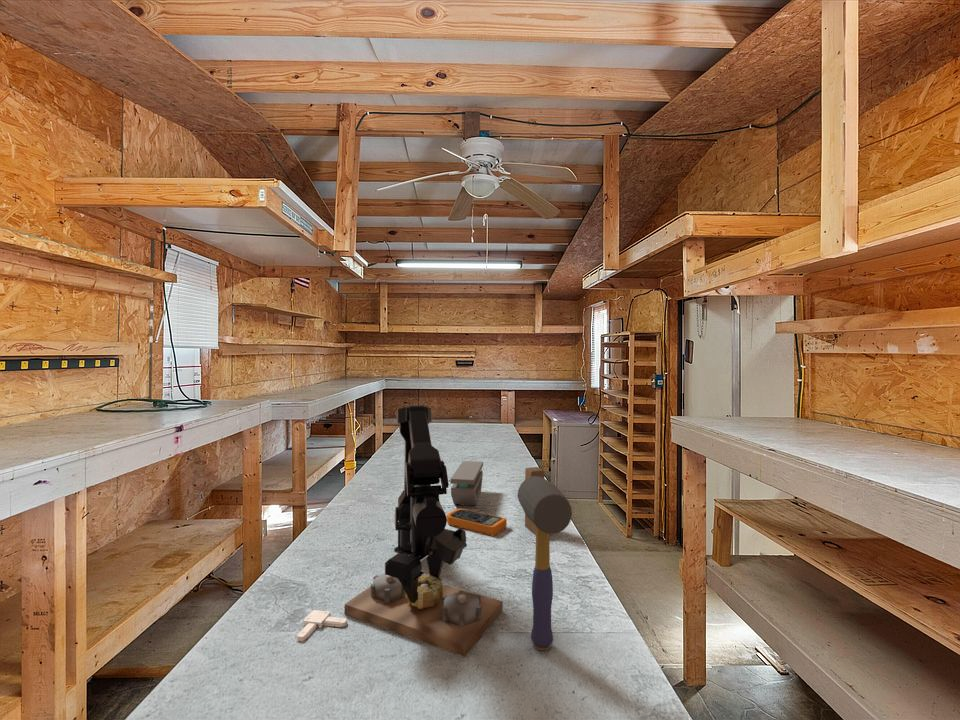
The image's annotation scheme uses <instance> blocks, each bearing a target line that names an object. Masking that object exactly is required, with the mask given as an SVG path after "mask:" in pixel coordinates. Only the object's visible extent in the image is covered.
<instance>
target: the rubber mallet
mask: <svg viewBox="0 0 960 720" xmlns="http://www.w3.org/2000/svg"><path fill="white" fill-rule="evenodd" d="M517 498H518V502H519V504H520V506H521V509H522V510H523V512H524V515H525V514H526V516H527V517H528V518H529V519H530V520H531V521H532V522H533V523H534V524H535V525H536V535H535V555H534V557H535V558H534V559H535V566H534V569H533V573H532V582H531V599H532V608H533V609H532V610H533V611H532V613H533V614H532V629H531V633H530V639H531V641H532V644H533V647H534V649H537V650H539V651H547V650H549V649H550V647H551V645H552V643H553V641H554V633H553V630H552V629H553V628H552V605H553V597H554V586H553V585H554V584H553V583H554V582H553V573H552V569H551V566H550V556H551V555H550V551H551V549H550V546H551V545H550V543H551V542H550V538H551V537H550V536H551V535H555V534H559V533H561V532H562V531H564V530H566V528H567V527H568V526H569V524H570V523H571V520H572V516H573V512H572V511H573V510H572V506H571V504H570V502H569V500H568V498H567V497H566V496H565V495H564V494H563V492H561V490H560V489H559V488H558V487H556V485H554V483H552V482H550V481H549V480H548V479H546V478H545V477H544V478H542V477H538V476H533V477H529V478H527V479H526V480H525V479H524V480H523V481H522V482H521V484H520V485H519V487H518V490H517ZM550 534H551V535H550Z"/></svg>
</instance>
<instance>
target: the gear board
mask: <svg viewBox="0 0 960 720" xmlns="http://www.w3.org/2000/svg"><path fill="white" fill-rule="evenodd" d="M420 587H422V588H424V587H428V584H422V585H421V586H420ZM503 602H504V601H503V600H499V599H496V598H492V597H489V596H485V595H483V594H478V593H474V592H471V591H467V590H464V589H460V588H458V587H453V586H450V585H446V584H444V597H443V600H441V601H440V602H438V603H437V606H435V607H433V606H431V607H425V608H423V609H418V607H416V606H412V605H410V606H409V605H408V604H407V598H406V592H405V590H404V588H403V586H402V584H401V583H400V581H399V579H398V578H395V577H392V576H389V575H385V573H381V574H378V575H373V581H372V583H371V584H370V586H368V587H367V588H366V589H365V590H363V591H362V592H360V593H359V594H357V595H356V596H354V597H353V598H351V599H350V600H349V601H347V602H346V603H344V615H347V616H349V617H352V618H354V619H358V620H360V619H361V620H360V621H363V622H366V623H370V624H371V623H372V624H371V625H374V624H375V626H378V627H380V628H383V629H385V628H386V630H388V629H389V631H391V632H394V633H397V634H399V635H403V636H405V637H408V638H410V637H411V639H414V640H416V641H419V642H421V643H425V644H428V645H430V646H433V647H436V648H439V649H442V650H443V651H447V652H449V653H453V654H455V655H458V656H460V657H463V658H465V657H467V655H468V654H469V653H470V651H471V650H472V649H473V648H474V647H475V645H476V644H477V643H478V641H479V640H480V639H481V638H482V637H483V635H484V634H485V633H486V632H487V631H488V629H490V627H491V626H492V624H493V623H494V622H495V621H496V620H497V618H498V617H499V616H500V615H501V613H502V612H503V611H504V610H503V609H504V608H503Z"/></svg>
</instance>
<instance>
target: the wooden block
mask: <svg viewBox="0 0 960 720" xmlns="http://www.w3.org/2000/svg"><path fill="white" fill-rule="evenodd" d="M524 471H525V473H524V474H525V479H524V480H526V479H527V478H529V477H533V476H538V477H542V478H544V479H545V469H542V468H541V467H538V466H535V467H525V470H524ZM524 527H525V528H526V529H528V531H530V532H531V533H532V534H534V536H536V525H535V524H534V523H533V522H532V521H531V520H530V519H529V518H528V517H527V516H526V514H525V513H524ZM551 535H552V534H550V536H551Z"/></svg>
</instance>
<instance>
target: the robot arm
mask: <svg viewBox="0 0 960 720" xmlns="http://www.w3.org/2000/svg"><path fill="white" fill-rule="evenodd" d="M432 419H433V418H432V408H431V407H428V405H425V404H409V405H406V406H405V405H404V406H401V408H397V409H396V425H397V426H398V428H399V429H398V430H399V433H400V435H401V437H402V438H403V440H404V462H403V463H404V464H403V465H404V468H403V469H404V473H403V475H404V477H403V484H404V485H403V490H402V492H401V493H400V495H399V497H398V498H397V506H396V507H395V509H394V530H395V531H397V547H394V549H393V550H394V552H397V554H395V555H393V556H392V557H390V558H389V559H387V560H386V561H385V563H384V574H385V575H389V576H392V577H395V578H398V579H399V581H400V583H401V584H402V586H403V588H404V590H405V592H406V594H407V596H408V598H409V600H410V602H412V603H415V602H416V598H417V588H418V579H419V577H420V576H423V575H425V574H424V573H425V572H424V571H422V567H423V566H422V564H423V563H422V561H424V560H425V559H426V563H427V567H428V568H427V569H428V572H429V573H428V574H431V576H435V577H440V576H441V574H442V570H443V566H444V563H445V564H447V565H453V564H454V563H456V561H457V560H459V559H461V556H462V554H463V550H464V549H465V548H467V546H468V545H467V532H466V529H465V530H464V528H460V527H458V529H456V530H452V529H448V528H446V526H447V524H448V523H447V514H446V513H445V510H444V508H443V506H442V504H441V501H440V495H447V494H448V491H447V489H448V488H449V485H450V484H449V483H450V482H449V478H448V470H447V466H446V464H445V461H444V460H442V459H441V456H440V451H439V450H438V449H437V448H435V446H433V445H432V440H431V434H430V428H429V427H430V426H429V425H430V424H431V423H432ZM439 484H440V485H439ZM440 578H441V577H440Z"/></svg>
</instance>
